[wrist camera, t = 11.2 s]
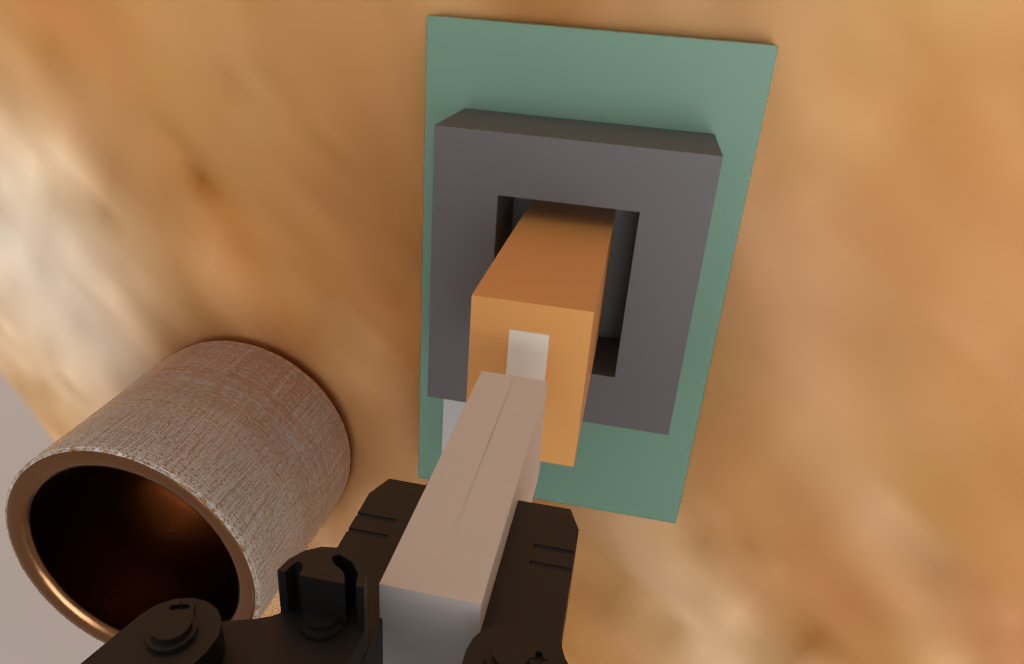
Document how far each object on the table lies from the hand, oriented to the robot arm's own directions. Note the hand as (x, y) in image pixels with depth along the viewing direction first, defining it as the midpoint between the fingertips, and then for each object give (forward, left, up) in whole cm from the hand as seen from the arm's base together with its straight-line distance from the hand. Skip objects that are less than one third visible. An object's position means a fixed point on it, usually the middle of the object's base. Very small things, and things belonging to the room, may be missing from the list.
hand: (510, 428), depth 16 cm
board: (-2, 0, -14) cm, 14 cm away
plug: (0, 0, -12) cm, 12 cm away
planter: (-12, +15, -14) cm, 24 cm away
